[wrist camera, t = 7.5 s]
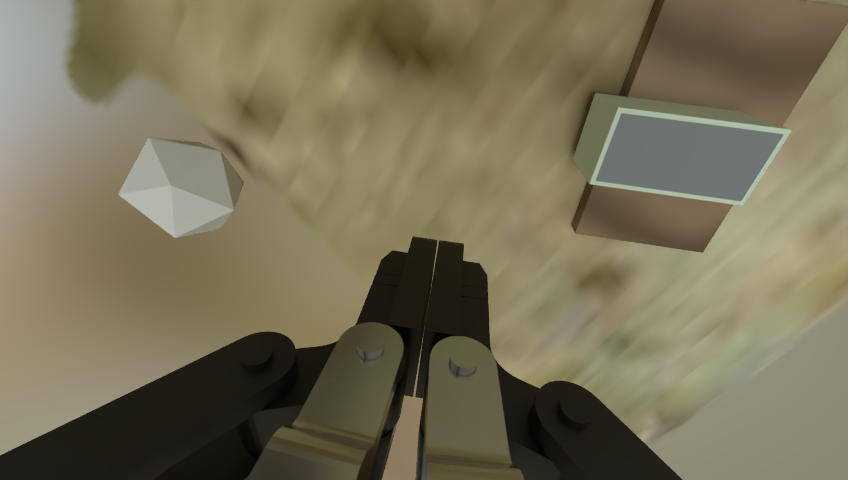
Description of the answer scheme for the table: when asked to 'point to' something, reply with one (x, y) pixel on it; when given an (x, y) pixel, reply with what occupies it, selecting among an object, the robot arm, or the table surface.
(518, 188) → the table surface
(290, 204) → the table surface
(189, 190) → the die
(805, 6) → the board
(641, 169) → the sage block
